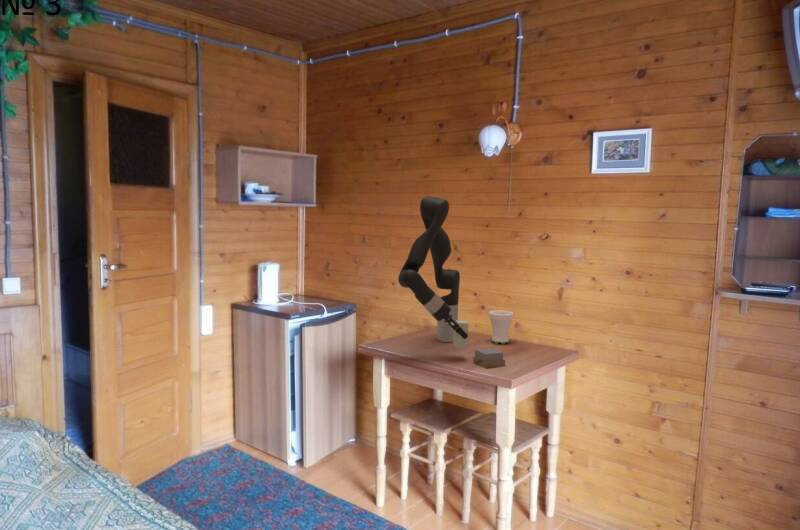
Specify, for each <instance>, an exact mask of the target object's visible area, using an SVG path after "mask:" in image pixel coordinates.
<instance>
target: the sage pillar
mask: <svg viewBox="0 0 800 530" xmlns="http://www.w3.org/2000/svg"><path fill="white" fill-rule="evenodd" d="M457 322H458V323H459V326H460V327H461V328H462V330H463V331H464V332H465V333H466V334H467V335H468V337H467V338H466V339H464V338H463V337H462V336H461V335H460V334H459V333H456V331H455V330H454V336H453V342H452V345H453V346H454V347H455V348H468V347H469V346H468V343H469V322H468V321H467V320H458V321H457ZM458 329H459V327H457V328H456V330H458Z"/></svg>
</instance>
